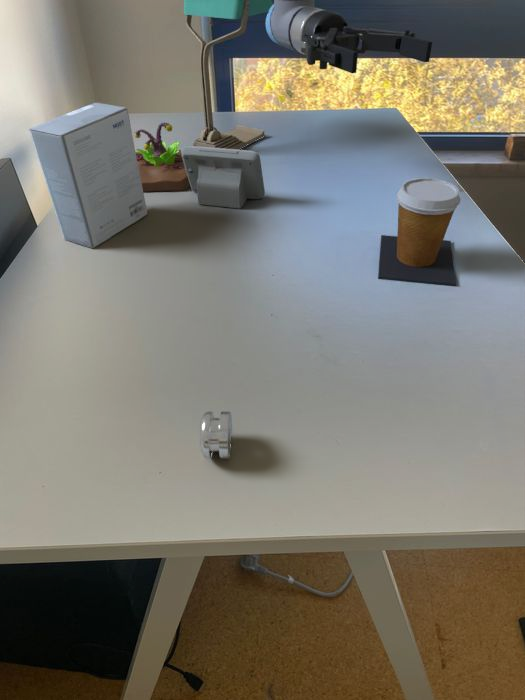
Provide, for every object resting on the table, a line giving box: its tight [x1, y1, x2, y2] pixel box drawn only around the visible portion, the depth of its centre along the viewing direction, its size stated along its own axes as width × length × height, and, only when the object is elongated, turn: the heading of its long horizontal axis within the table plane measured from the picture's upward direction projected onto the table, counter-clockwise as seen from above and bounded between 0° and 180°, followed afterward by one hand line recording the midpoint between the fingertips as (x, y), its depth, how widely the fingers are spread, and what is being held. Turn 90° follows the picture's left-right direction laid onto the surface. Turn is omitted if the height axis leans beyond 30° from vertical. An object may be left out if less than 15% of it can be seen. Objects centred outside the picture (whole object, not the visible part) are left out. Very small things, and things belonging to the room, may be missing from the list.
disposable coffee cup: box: [396, 177, 461, 267], centre depth 83 cm, size 10×10×12 cm
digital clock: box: [180, 145, 266, 209], centre depth 103 cm, size 16×9×11 cm, turn 63°
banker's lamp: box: [183, 0, 274, 149], centre depth 119 cm, size 16×21×35 cm
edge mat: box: [377, 234, 457, 287], centre depth 87 cm, size 12×14×1 cm
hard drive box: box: [28, 102, 148, 249], centre depth 91 cm, size 16×8×20 cm, turn 150°
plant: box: [134, 121, 191, 193], centre depth 113 cm, size 20×20×11 cm
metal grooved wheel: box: [199, 410, 233, 460], centre depth 55 cm, size 5×3×5 cm, turn 178°
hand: (393, 57), depth 77 cm, fingers open, 13 cm apart
